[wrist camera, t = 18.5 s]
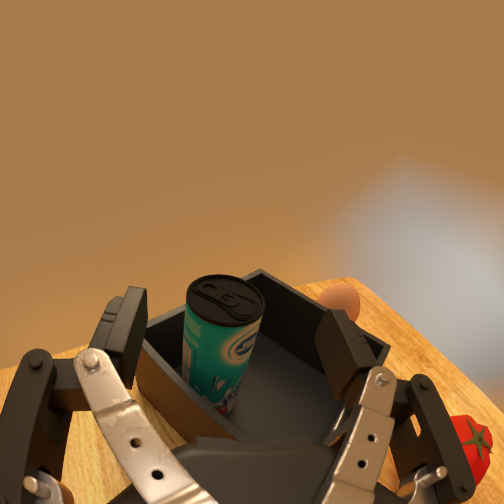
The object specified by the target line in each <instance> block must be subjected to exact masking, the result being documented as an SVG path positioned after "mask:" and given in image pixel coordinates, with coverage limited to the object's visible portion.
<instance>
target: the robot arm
mask: <svg viewBox="0 0 504 504" xmlns="http://www.w3.org/2000/svg"><path fill="white" fill-rule="evenodd" d="M147 321H148V311H147V290H146V289H145V288H139V287H133V286H129V287H128V289H127V291H126V293H125V296H124V297H120V296H116V297H114V298H113V299H112V300H111V301H110V302H109V303H108V304H107V306H106V309H105V311H104V313H103V315H102V317H101V321H99V324H98V326H97V328H96V331H95V333H94V335H93V337H92V340H91V342H90V344H89V347H88V348H87V349H84V350H82V351H80V352H79V353H78V354H77V355H76V357H75V358H71V359H53V358H52V356H51V355H50V353H49V352H47V351H46V350H43V349H33V350H31V351H29V352H27V353H26V354H25V355H24V356H23V358H22V360H21V362H20V365H19V367H18V369H17V372H16V374H15V376H14V379H13V381H12V384H11V386H10V389H9V392H8V394H7V397H6V400H5V403H4V406H3V409H2V412H1V415H0V504H74V498H73V495H72V493H71V491H70V490H69V489H68V488H67V487H66V486H65V485H64V484H63V483H61V477H62V469H63V462H64V455H65V449H66V443H67V437H68V432H69V427H70V422H71V418H72V413H73V411H92V412H93V415H94V418H95V420H96V422H97V424H98V426H99V428H100V430H101V432H102V434H103V436H104V438H105V439H106V441H107V443H108V445H109V447H110V448H111V450H112V452H113V454H114V455H115V457H116V459H117V460H118V462H119V464H120V465H121V467H122V468H123V470H124V471H125V473H126V475H127V476H128V478H129V479H130V481H131V482H132V483H131V484H130V485H129V486H128V487H127V488H125V489H124V490H123V491H122V492H121V493H120V494H118V495H117V496H116V497H115V498H113V499H112V500H111V501H110V502H108V503H107V504H461V503H463V502H465V501H467V500H469V499H470V498H471V497H472V496H473V494H474V492H475V489H476V482H475V478H474V476H473V473H472V470H471V467H470V464H469V462H468V459H467V457H466V454H465V451H464V449H463V446H462V444H461V442H460V439H459V437H458V434H457V432H456V430H455V428H454V425H453V423H452V421H451V419H450V416H449V414H448V412H447V410H446V408H445V406H444V404H443V402H442V400H441V398H440V396H439V393H438V391H437V390H436V388H435V386H434V384H433V382H432V381H431V379H430V378H428V377H427V376H425V375H423V374H416V375H414V376H413V377H412V378H411V380H410V381H406V380H401V379H396V377H395V375H394V374H393V372H391V371H390V370H389V369H387V368H385V367H382V366H379V364H378V362H377V360H376V358H375V356H374V354H373V352H372V350H371V348H370V346H369V344H367V340H366V339H365V337H364V335H363V333H362V331H361V329H360V327H359V326H358V325H357V324H356V323H355V322H353V321H352V320H350V319H349V317H348V315H347V313H346V312H345V310H343V309H330V308H329V309H327V310H326V312H325V314H324V316H323V318H322V320H321V323H320V325H319V327H318V329H317V331H316V334H315V345H316V348H317V351H318V354H319V356H320V359H321V362H322V365H323V368H324V371H325V374H326V377H327V380H328V383H329V386H330V389H331V392H332V395H333V398H334V400H339V399H344V401H345V403H344V404H343V406H342V408H341V410H340V412H339V414H338V416H337V419H336V421H335V423H334V425H333V427H332V429H331V431H330V433H329V435H328V437H327V439H326V440H325V441H324V442H323V444H320V443H316V442H313V440H312V436H311V435H308V436H297V437H285V438H282V439H278V440H275V441H271V442H268V443H264V444H260V445H253V444H248V443H244V442H239V441H235V440H231V439H227V438H210V437H197V436H196V438H195V443H191V444H186V445H182V446H179V447H176V448H174V449H172V450H169V448H168V447H167V446H166V444H165V443H164V442H163V440H162V439H161V438H160V436H159V435H158V433H157V432H156V431H155V429H154V428H153V426H152V425H151V423H150V422H149V420H148V419H147V417H146V416H145V414H144V413H143V411H142V409H141V408H140V406H139V405H138V404H137V402H136V401H135V400H132V398H131V397H130V395H129V393H128V392H127V390H126V389H130V390H132V385H133V381H134V376H135V372H136V368H137V363H138V359H139V355H140V351H141V347H142V344H143V340H144V336H145V332H146V328H147ZM414 413H415V415H416V418H417V420H418V423H419V425H420V428H421V433H420V436H419V437H417V434H416V432H415V429H414V427H413V424H412V421H411V419H410V417H411V416H412V415H413V414H414ZM388 446H390V449H391V452H392V455H393V459H394V462H395V465H396V469H397V472H398V476H399V479H400V485H399V489H398V490H397V491H396V492H395V493H393V492H392V491H390V490H389V489H387V488H386V487H384V486H383V485H382V484H380V483H379V482H377V480H378V477H379V474H380V471H381V468H382V465H383V462H384V459H385V456H386V453H387V449H388Z"/></svg>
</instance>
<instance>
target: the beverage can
mask: <svg viewBox="0 0 504 504" xmlns="http://www.w3.org/2000/svg"><path fill="white" fill-rule="evenodd" d="M264 309H265V299H264V297H263V295H262V293H261V292H260V291H259V290H258V289H257V288H256V287H255V286H254V285H252V284H251V283H249V282H247V281H245V280H243V279H241V278H238V277H234V276H230V275H221V274H216V275H207V276H203V277H201V278H198V279H197V280H195V281H193V282H192V283H191V284H190V285H189V287H188V289H187V294H186V306H185V319H184V335H183V356H182V379H183V380H184V381H185V382H187V383H188V384H189V385H190V386H191V387H192V388H193V389H194V390H195V391H196V392H197V393H198V394H199V395H200V396H201V397H202V398H204V399H205V400H206V401H207V402H208V403H209V404H210V405H211V406H212V407H214V408H215V409H216V410H217V411H218V412H219V413H220V414H222V415H223V416H224V415H226V414H227V413H229V412H230V411H231V409H232V408H233V406H234V404H235V401H236V398H237V395H238V392H239V389H240V386H241V383H242V380H243V377H244V374H245V371H246V368H247V365H248V362H249V359H250V356H251V352H252V349H253V346H254V343H255V339H256V336H257V333H258V329H259V326H260V323H261V319H262V315H263V312H264Z"/></svg>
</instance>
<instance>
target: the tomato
mask: <svg viewBox="0 0 504 504" xmlns="http://www.w3.org/2000/svg"><path fill="white" fill-rule="evenodd" d="M450 419H451V421H452V423H453V425H454V428H455V430H456V432H457V434H458V437H459V439H460V442H461V444H462V446H463V449H464V451H465V454H466V457H467V459H468V462H469V464H470V467H471V470H472V473H473V476H474V478H475V482H476V486H477V485H478V484H479V483H480V482H481V480H482V478H483V477H484V475H485V473H486V471H487V469H488V467H489V465H490V457H489V454H490V452H491V448H492V446H493V442H492V436H491V433H490V431H489V429H488V427H487V426H486V425H485V426H484V425H480V424H477V423H476V422H475V421H474V419H473V418H472V417H470V416H469V415H460V416H451V417H450ZM419 436H420V435H419ZM419 436H418V437H419ZM491 453H492V452H491ZM492 454H493V453H492Z"/></svg>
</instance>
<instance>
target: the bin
mask: <svg viewBox="0 0 504 504" xmlns="http://www.w3.org/2000/svg"><path fill="white" fill-rule="evenodd" d="M241 279H243V280H245V281H247V282H249V283H251V284H252V285H254V286H255V287H256V288H257V289H258V290H259V291H260V292H261V293H262V295H263V297H264V299H265V309H264V312H263V315H262V319H261V323H260V326H259V329H258V333H257V336H256V339H255V343H254V346H253V349H252V352H251V356H250V359H249V362H248V365H247V368H246V371H245V374H244V377H243V380H242V383H241V386H240V389H239V392H238V395H237V398H236V401H235V404H234V406H233V408H232V409H231V411H230V412H229V413H227V414H226V415H224V416H223V415H222V414H220V413H219V412H218V411H217V410H216V409H215V408H214V407H212V406H211V405H210V404H209V403H208V402H207V401H206V400H205V399H204V398H202V397H201V396H200V395H199V394H198V393H197V392H196V391H195V390H194V389H193V388H192V387H191V386H190V385H189V384H188V383H187V382H185V381H184V380H183V379H182V356H183V335H184V319H185V306H186V304H184V305H182V306H180V307H178V308H176V309H173V310H171V311H169V312H167V313H165V314H162V315H160V316H158V317H156V318H154V319H151V320H149V321H147V328H146V332H145V336H144V340H143V344H142V347H141V351H140V355H139V359H138V363H137V368H136V372H135V376H136V381H137V386H138V389H139V390H140V391H141V392H142V394H143V395H144V396H145V397H146V398H147V399H148V401H149V402H150V403H151V404H152V405H153V406H154V407H155V409H156V410H157V411H158V412H159V413H160V414H161V415H162V416H163V417H164V418H165V419H166V421H167V422H168V423H169V424H170V425H171V426H172V427H173V428H174V429H175V430H176V431H177V432H178V433H179V434H180V435H181V436H182V437H183V438H184V439H185V440H186V441H187V442H188V443H189V444H191V443H195V438H196V436H197V437H210V438H227V439H231V440H235V441H239V442H244V443H248V444H253V445H260V444H264V443H268V442H271V441H275V440H278V439H282V438H285V437H297V436H308V435H311V436H312V440H313V442H316V443H320V444H323V442H324V441H325V440H326V439H327V437H328V435H329V433H330V431H331V429H332V427H333V425H334V423H335V421H336V419H337V416H338V414H339V412H340V410H341V408H342V406H343V404H344V403H345V401H344V399H339V400H334V398H333V395H332V392H331V389H330V386H329V383H328V380H327V377H326V374H325V371H324V368H323V365H322V362H321V359H320V356H319V354H318V351H317V348H316V345H315V334H316V331H317V329H318V327H319V325H320V323H321V320H322V318H323V316H324V314H325V312H326V310H327V308H326V307H324V306H322V305H321V304H319V303H317V302H316V301H314V300H312V299H310V298H309V297H307V296H305V295H304V294H302V293H300V292H299V291H297V290H295V289H294V288H292V287H290V286H289V285H287V284H285V283H284V282H282V281H280V280H279V279H277V278H275V277H273V276H272V275H270V274H269V273H267V272H265V271H263V270H262V269H259V270H256V271H254V272H252V273H250V274H248V275H246V276H244V277H242V278H241ZM360 329H361V328H360ZM361 331H362V333H363V335H364V337H365V339H366V340H367V344H369V346H370V348H371V350H372V352H373V354H374V356H375V358H376V360H377V362H378V364H379V366H383V363H384V361H385V359H386V357H387V355H388V352H389V350H390V348H391V346H390V345H389V344H387V343H385V342H384V341H382V340H380V339H378V338H377V337H375V336H373V335H372V334H370V333H368V332H366V331H365V330H363V329H361Z"/></svg>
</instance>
